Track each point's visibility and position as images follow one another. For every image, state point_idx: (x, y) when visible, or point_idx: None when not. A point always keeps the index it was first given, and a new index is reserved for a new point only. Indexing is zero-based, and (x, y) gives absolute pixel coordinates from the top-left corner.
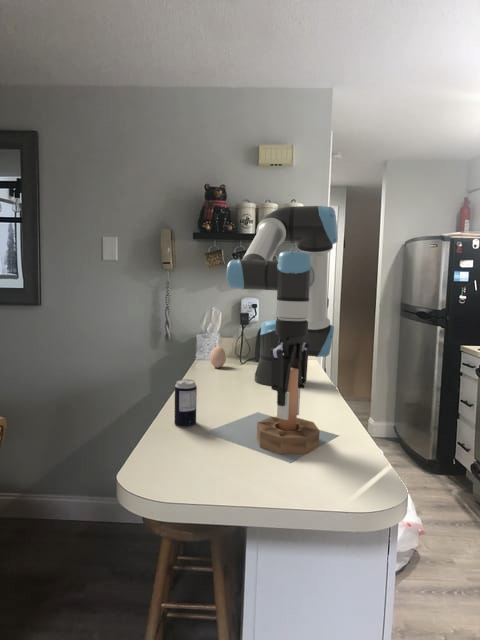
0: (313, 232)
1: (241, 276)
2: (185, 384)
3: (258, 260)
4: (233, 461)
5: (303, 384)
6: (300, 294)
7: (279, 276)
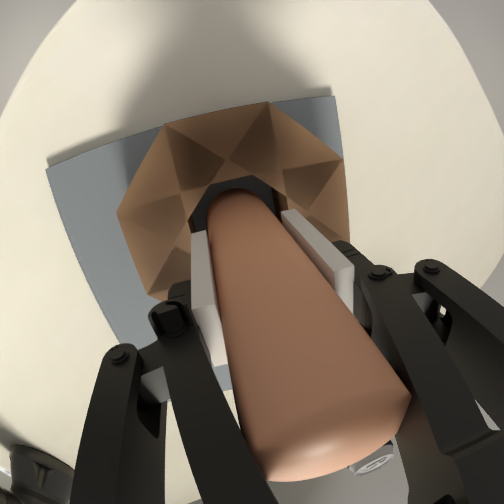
0: None
1: None
2: (390, 453)
3: None
4: (407, 206)
5: (153, 329)
6: None
7: None
